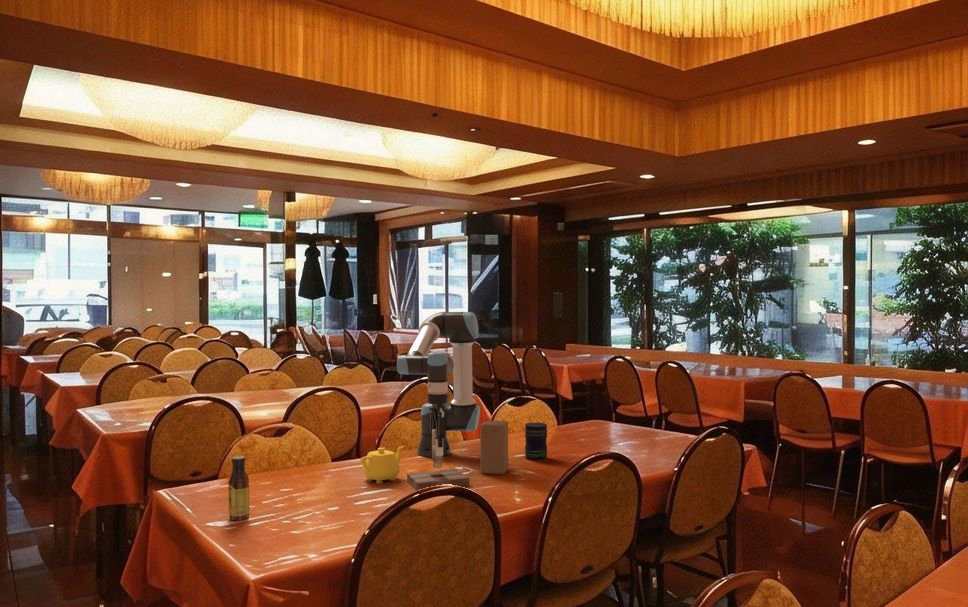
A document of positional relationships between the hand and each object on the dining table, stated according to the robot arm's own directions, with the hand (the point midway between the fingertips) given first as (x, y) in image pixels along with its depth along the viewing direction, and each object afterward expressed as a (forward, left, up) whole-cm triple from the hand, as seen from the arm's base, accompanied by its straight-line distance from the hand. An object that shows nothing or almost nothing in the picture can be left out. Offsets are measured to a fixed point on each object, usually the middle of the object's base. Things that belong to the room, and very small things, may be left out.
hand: (437, 454), depth 263 cm
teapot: (-14, -18, -12) cm, 26 cm away
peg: (0, 0, -5) cm, 5 cm away
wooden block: (-9, +27, -12) cm, 31 cm away
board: (0, 0, -11) cm, 11 cm away
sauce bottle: (+16, -72, -12) cm, 74 cm away
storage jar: (-24, +53, -12) cm, 60 cm away
